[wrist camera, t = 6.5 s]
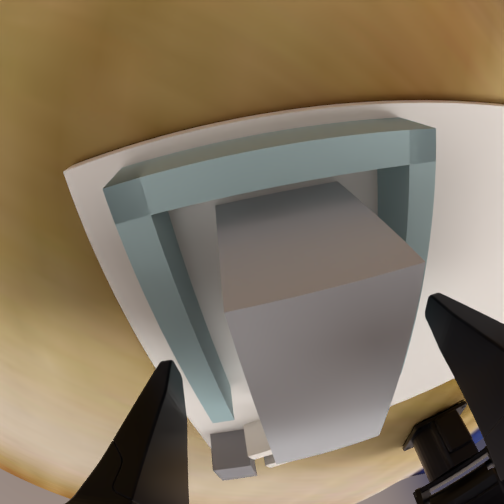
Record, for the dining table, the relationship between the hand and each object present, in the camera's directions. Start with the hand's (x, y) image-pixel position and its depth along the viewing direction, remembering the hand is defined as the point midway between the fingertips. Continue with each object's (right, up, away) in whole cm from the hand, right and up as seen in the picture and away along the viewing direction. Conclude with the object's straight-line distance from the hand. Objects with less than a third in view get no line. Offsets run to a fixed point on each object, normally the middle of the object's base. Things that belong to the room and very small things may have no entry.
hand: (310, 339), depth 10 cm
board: (+5, 0, +4) cm, 7 cm away
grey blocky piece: (-1, -7, +7) cm, 10 cm away
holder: (0, +2, +2) cm, 3 cm away
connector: (0, 0, +3) cm, 3 cm away
